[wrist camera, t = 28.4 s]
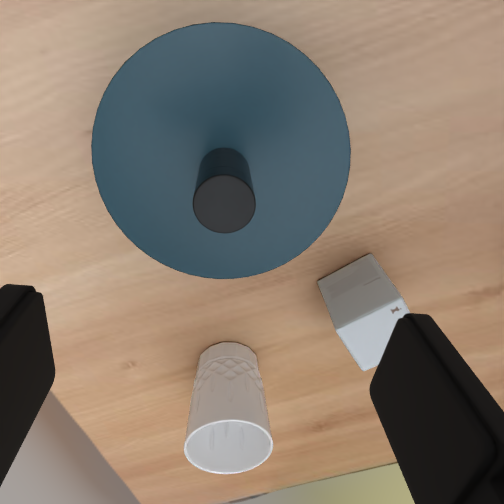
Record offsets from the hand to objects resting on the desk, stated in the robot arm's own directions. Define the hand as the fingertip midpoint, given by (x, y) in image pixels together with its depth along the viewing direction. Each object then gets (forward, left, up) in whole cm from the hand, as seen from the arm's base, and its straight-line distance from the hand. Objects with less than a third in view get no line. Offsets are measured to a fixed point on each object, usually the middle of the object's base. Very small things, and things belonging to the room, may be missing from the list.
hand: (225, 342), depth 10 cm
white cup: (+18, +16, -22) cm, 33 cm away
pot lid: (0, 0, -16) cm, 16 cm away
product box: (+2, +19, -22) cm, 29 cm away
